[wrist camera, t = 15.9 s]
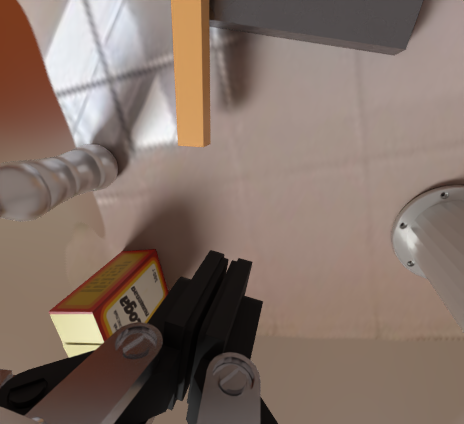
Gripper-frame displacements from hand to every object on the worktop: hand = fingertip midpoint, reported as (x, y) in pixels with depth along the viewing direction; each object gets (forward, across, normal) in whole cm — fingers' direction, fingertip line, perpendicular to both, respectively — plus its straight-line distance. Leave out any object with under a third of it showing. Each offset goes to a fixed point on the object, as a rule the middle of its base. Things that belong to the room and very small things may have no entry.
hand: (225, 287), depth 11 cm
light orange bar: (+24, +12, -11) cm, 29 cm away
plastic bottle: (+29, +26, +7) cm, 40 cm away
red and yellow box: (+29, +18, +25) cm, 43 cm away
